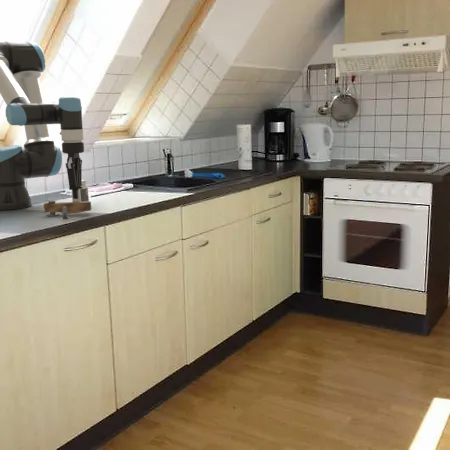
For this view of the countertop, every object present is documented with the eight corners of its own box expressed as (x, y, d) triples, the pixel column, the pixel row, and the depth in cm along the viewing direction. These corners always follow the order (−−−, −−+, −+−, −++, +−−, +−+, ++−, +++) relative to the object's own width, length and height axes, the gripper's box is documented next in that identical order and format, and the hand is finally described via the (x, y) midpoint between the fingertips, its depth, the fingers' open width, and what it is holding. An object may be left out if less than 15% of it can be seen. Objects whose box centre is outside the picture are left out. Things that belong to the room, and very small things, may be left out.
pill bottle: (90, 204, 231) (88, 179, 229) (87, 206, 226) (85, 181, 224) (75, 204, 231) (74, 179, 229) (72, 207, 225) (70, 181, 223)
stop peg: (61, 218, 203) (61, 207, 202) (65, 217, 204) (64, 206, 203) (65, 219, 202) (64, 207, 201) (68, 218, 203) (67, 206, 203)
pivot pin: (43, 215, 209) (43, 212, 209) (53, 213, 213) (53, 210, 213) (52, 216, 207) (52, 213, 207) (61, 214, 211) (61, 211, 210)
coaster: (54, 211, 217) (53, 210, 217) (74, 207, 225) (74, 206, 225) (73, 213, 212) (73, 212, 211) (93, 209, 220) (93, 208, 220)
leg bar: (44, 212, 208) (43, 202, 208) (46, 211, 211) (45, 201, 210) (90, 210, 210) (89, 200, 209) (91, 209, 212) (90, 199, 211)
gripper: (67, 140, 214) (71, 204, 219) (56, 143, 201) (61, 210, 206) (87, 140, 213) (91, 203, 218) (78, 142, 201) (82, 210, 206)
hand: (77, 207), depth 212 cm, fingers closed
